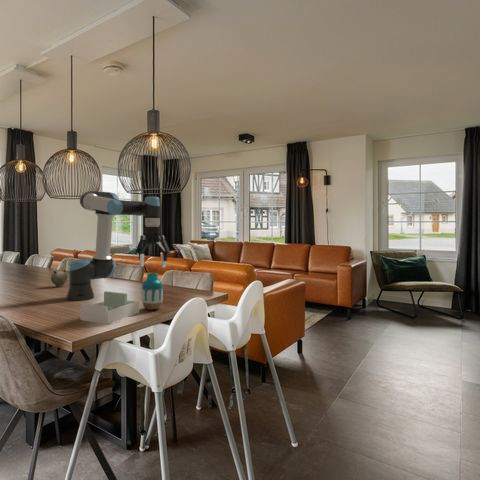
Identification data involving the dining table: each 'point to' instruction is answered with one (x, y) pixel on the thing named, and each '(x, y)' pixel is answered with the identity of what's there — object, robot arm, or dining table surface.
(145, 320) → the dining table surface
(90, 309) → the pusher lane
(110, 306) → the pusher
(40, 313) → the dining table surface
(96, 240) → the robot arm
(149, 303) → the vase
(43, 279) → the dining table surface
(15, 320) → the dining table surface
